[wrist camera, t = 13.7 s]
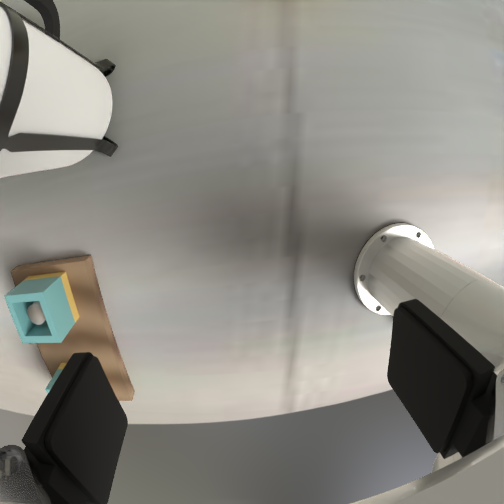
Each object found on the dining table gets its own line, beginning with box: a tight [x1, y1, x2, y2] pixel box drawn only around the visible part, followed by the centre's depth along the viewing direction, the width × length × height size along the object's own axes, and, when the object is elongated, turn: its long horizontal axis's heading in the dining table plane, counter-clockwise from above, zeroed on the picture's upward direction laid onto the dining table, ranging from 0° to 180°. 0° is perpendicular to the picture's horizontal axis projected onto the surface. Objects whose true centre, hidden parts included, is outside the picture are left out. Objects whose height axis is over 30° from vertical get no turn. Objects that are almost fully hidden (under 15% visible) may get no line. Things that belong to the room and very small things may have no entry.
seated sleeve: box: [5, 272, 79, 343], centre depth 30 cm, size 6×6×6 cm
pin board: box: [11, 255, 135, 401], centre depth 33 cm, size 21×12×7 cm, turn 5°
